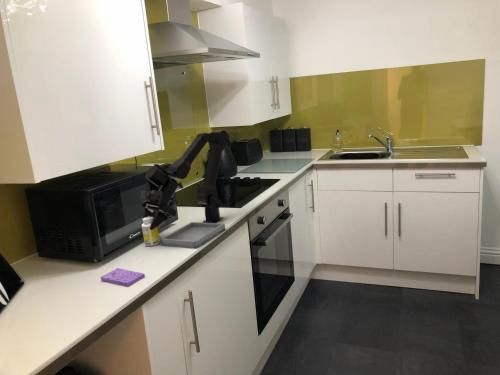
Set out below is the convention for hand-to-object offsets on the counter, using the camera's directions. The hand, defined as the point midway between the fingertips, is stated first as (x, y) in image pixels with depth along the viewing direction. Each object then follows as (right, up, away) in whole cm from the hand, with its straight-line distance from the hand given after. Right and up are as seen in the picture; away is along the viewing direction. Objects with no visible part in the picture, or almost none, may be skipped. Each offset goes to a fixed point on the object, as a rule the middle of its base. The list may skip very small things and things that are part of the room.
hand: (146, 228), depth 154 cm
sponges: (0, -13, -27) cm, 30 cm away
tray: (+17, -4, +4) cm, 18 cm away
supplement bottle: (+2, -6, +2) cm, 7 cm away
